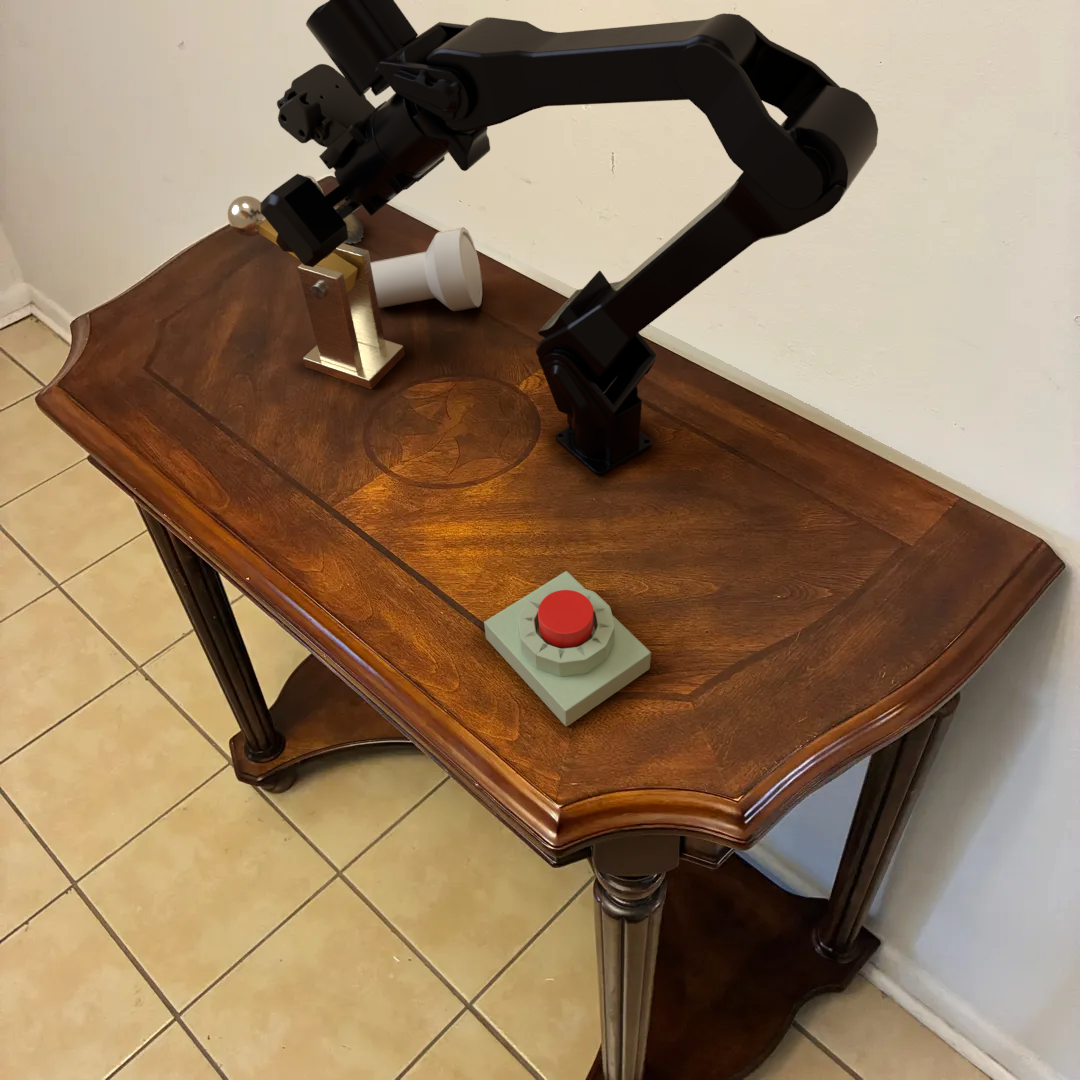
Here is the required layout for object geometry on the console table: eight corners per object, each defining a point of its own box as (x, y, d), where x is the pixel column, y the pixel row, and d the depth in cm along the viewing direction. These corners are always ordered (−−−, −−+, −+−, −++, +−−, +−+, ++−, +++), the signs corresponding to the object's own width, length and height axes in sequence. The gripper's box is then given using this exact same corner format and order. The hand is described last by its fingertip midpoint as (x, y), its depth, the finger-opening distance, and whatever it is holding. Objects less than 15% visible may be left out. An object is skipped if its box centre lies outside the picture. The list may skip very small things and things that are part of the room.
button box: (650, 669, 74) (652, 637, 71) (566, 727, 71) (565, 697, 68) (566, 587, 79) (566, 555, 76) (485, 638, 76) (481, 607, 73)
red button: (604, 629, 72) (604, 614, 71) (561, 657, 71) (561, 643, 69) (570, 595, 74) (570, 580, 73) (527, 622, 73) (526, 607, 71)
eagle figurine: (267, 234, 113) (325, 241, 109) (270, 168, 111) (329, 172, 107) (315, 240, 119) (371, 247, 115) (318, 178, 118) (376, 182, 113)
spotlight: (481, 319, 101) (460, 243, 96) (376, 337, 103) (351, 264, 98) (491, 286, 107) (471, 214, 102) (392, 304, 109) (369, 234, 105)
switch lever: (218, 229, 92) (220, 200, 90) (243, 211, 95) (245, 181, 92) (335, 307, 92) (340, 280, 89) (357, 287, 94) (363, 259, 91)
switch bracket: (305, 367, 99) (277, 264, 90) (340, 334, 102) (317, 232, 93) (371, 390, 96) (350, 286, 87) (405, 354, 100) (387, 252, 91)
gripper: (406, 2, 80) (317, 99, 92) (255, 97, 70) (177, 193, 82) (490, 122, 84) (394, 200, 96) (359, 229, 74) (269, 302, 85)
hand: (313, 220), depth 90 cm, fingers open, 9 cm apart
